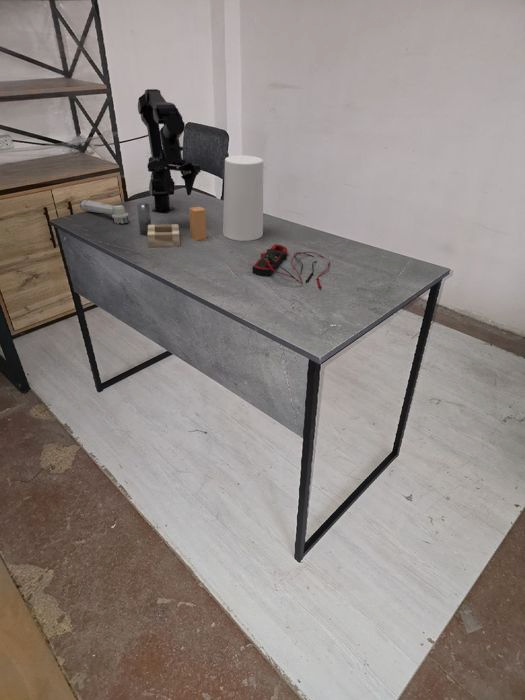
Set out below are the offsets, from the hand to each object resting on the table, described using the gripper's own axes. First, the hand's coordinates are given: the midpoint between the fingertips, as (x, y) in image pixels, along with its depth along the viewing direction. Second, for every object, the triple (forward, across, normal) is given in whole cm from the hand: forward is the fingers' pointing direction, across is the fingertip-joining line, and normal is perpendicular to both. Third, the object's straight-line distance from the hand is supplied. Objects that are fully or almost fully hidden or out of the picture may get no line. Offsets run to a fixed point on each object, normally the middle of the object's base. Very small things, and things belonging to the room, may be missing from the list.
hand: (179, 194), depth 154 cm
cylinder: (+15, -18, +10) cm, 26 cm away
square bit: (+15, -5, +1) cm, 15 cm away
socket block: (+14, +5, -5) cm, 16 cm away
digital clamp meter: (+30, -7, +36) cm, 48 cm away
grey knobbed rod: (0, +3, -38) cm, 38 cm away
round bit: (+10, +5, -14) cm, 18 cm away
